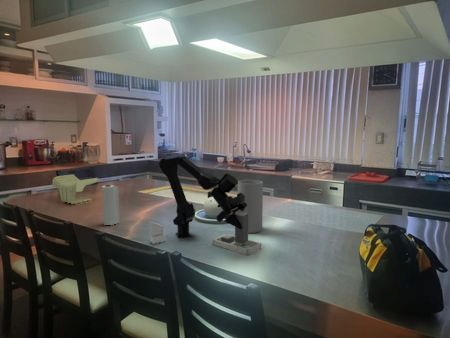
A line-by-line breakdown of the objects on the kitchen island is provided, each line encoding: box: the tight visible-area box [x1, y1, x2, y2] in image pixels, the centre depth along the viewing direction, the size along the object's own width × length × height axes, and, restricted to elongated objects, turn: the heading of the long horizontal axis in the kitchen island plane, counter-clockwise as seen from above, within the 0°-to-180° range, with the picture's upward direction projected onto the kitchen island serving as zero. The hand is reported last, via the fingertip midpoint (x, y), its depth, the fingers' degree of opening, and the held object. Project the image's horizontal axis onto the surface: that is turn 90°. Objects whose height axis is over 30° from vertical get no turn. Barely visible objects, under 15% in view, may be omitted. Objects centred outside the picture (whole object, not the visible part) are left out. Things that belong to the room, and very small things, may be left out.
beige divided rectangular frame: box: [212, 233, 262, 256], centre depth 138 cm, size 20×10×3 cm, turn 51°
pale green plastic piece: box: [52, 173, 99, 205], centre depth 220 cm, size 30×16×18 cm, turn 56°
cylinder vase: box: [237, 179, 264, 234], centre depth 159 cm, size 12×12×25 cm
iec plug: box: [234, 211, 249, 245], centre depth 135 cm, size 4×4×13 cm
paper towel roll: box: [101, 184, 121, 226], centre depth 168 cm, size 7×6×21 cm
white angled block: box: [149, 220, 166, 245], centre depth 144 cm, size 4×10×9 cm, turn 126°
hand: (244, 227), depth 135 cm, fingers closed on iec plug, 4 cm apart
